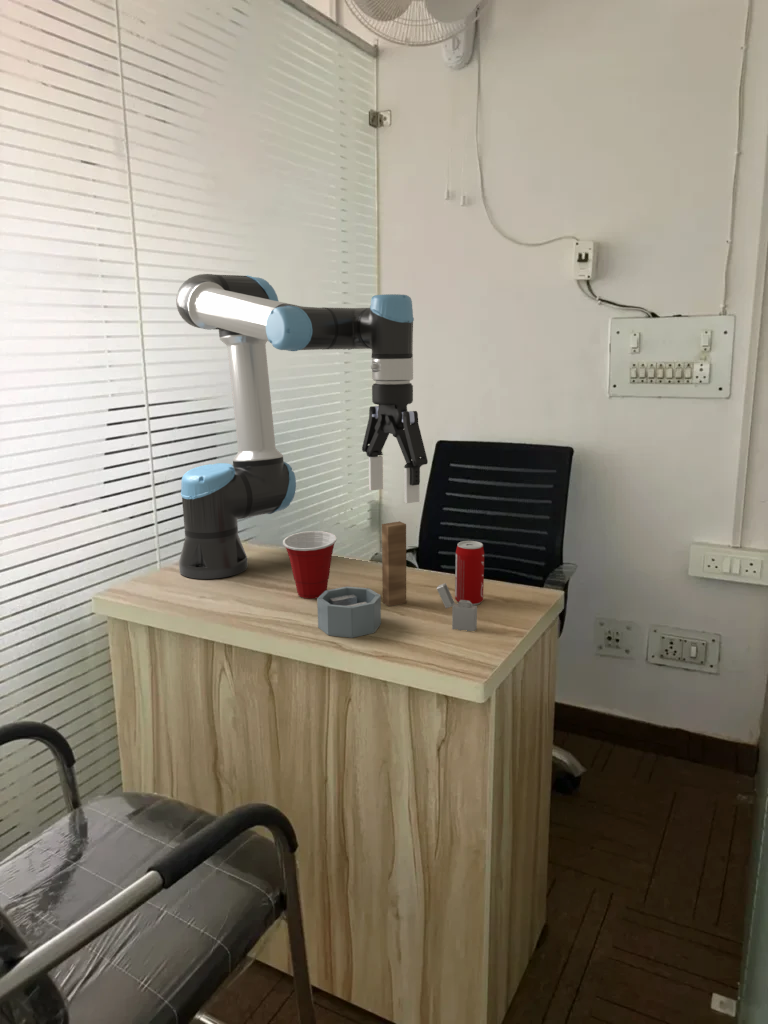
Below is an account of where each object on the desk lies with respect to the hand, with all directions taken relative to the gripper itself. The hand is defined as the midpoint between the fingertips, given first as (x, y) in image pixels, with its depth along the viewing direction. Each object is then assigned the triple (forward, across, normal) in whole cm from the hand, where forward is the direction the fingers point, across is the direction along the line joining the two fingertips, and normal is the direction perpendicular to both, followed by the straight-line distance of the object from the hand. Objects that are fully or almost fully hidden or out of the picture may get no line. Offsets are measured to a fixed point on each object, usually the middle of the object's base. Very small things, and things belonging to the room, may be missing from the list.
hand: (393, 495), depth 141 cm
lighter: (+22, +17, +3) cm, 28 cm away
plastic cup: (+22, -13, -12) cm, 28 cm away
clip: (+22, +6, -13) cm, 26 cm away
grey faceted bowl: (+22, +6, -13) cm, 26 cm away
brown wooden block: (+22, 0, 0) cm, 22 cm away
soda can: (+22, +7, +13) cm, 26 cm away
